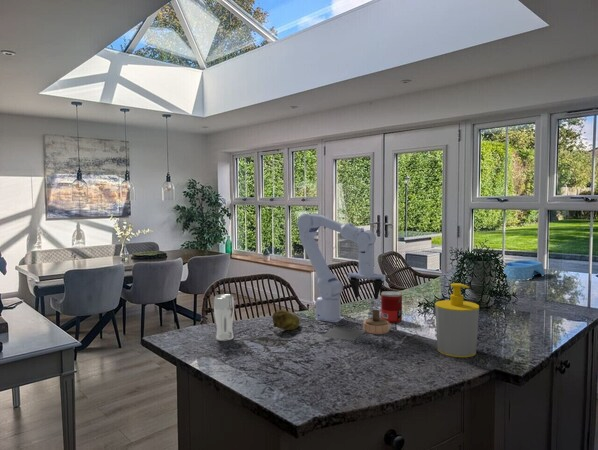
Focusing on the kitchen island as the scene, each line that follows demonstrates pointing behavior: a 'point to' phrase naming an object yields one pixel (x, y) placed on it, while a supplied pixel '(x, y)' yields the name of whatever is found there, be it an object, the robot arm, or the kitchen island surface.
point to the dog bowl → (523, 269)
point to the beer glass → (224, 316)
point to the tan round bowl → (376, 328)
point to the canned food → (391, 306)
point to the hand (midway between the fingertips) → (366, 298)
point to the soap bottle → (457, 324)
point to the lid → (376, 319)
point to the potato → (285, 320)
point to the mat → (344, 333)
